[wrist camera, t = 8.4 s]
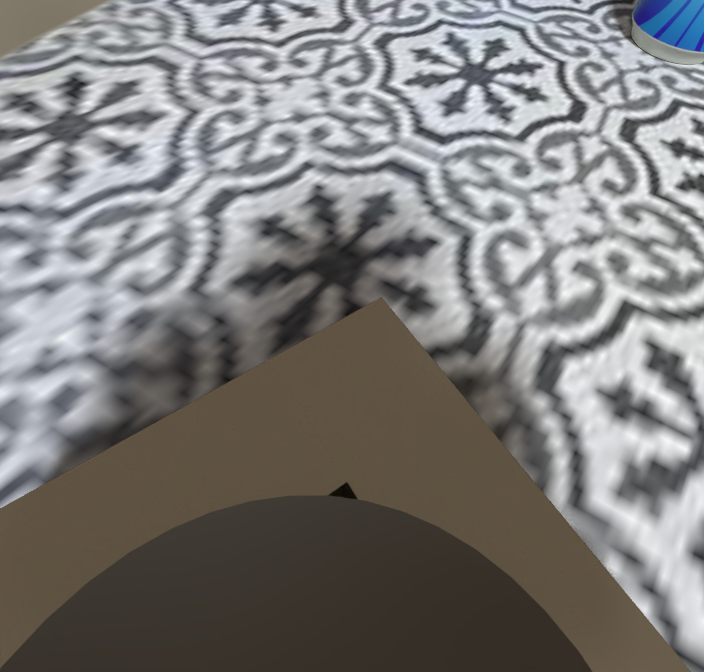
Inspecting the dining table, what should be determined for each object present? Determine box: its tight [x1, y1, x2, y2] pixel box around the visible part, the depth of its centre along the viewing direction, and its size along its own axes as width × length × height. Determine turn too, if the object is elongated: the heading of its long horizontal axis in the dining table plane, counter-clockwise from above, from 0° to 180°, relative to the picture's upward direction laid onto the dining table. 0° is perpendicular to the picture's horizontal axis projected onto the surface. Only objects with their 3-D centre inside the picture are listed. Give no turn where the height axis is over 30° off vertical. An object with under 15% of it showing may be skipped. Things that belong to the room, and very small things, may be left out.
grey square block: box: [0, 297, 691, 672], centre depth 13 cm, size 16×16×4 cm
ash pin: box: [0, 495, 592, 672], centre depth 8 cm, size 5×5×13 cm
